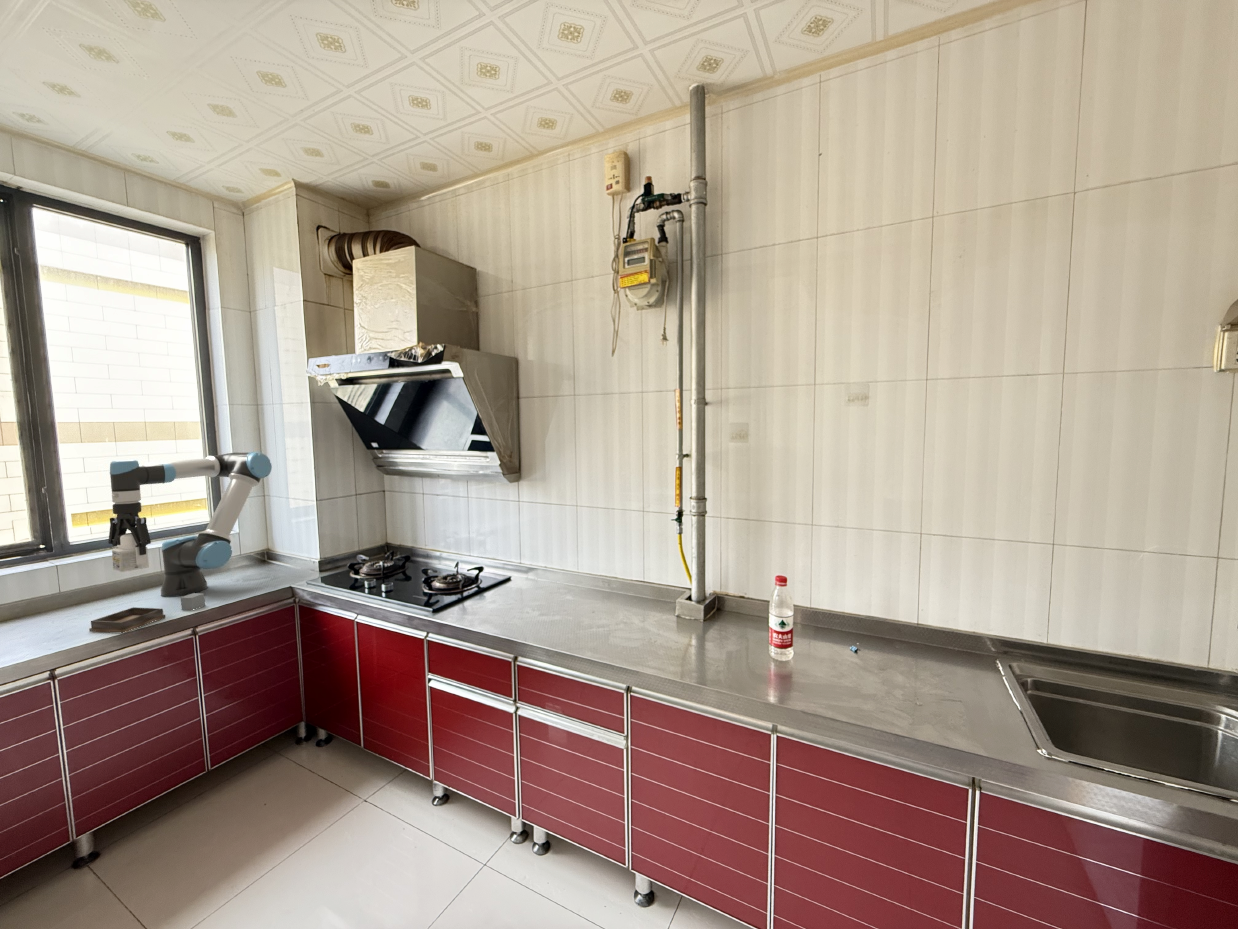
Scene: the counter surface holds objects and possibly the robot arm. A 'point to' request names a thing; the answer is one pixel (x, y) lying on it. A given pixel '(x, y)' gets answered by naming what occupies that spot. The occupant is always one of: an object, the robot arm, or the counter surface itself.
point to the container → (126, 554)
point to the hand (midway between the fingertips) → (131, 563)
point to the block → (192, 601)
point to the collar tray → (126, 619)
